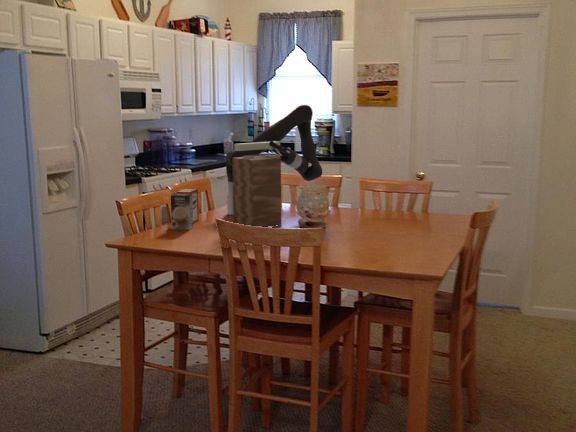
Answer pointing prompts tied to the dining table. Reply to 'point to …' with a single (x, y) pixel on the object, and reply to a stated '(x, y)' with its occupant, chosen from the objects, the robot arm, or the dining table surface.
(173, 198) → the coffee box
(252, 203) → the shelf stand
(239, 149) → the sage bar
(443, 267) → the dining table surface
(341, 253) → the dining table surface
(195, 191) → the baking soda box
